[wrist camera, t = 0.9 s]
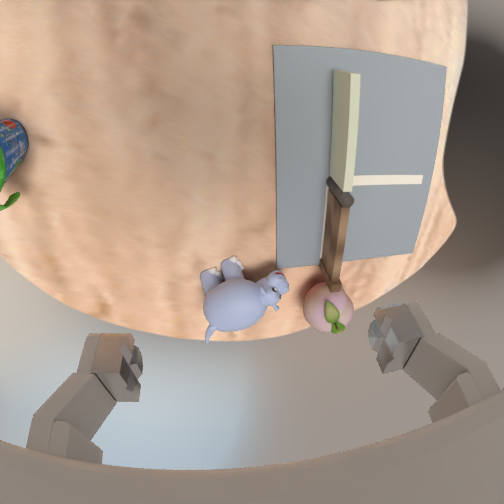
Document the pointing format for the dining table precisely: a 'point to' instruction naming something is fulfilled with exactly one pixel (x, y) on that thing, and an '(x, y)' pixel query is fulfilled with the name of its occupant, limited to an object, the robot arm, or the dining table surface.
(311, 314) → the decorative fruit
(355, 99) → the fence gate
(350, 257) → the board
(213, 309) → the hippopotamus toy
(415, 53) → the dining table surface
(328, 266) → the fence fixed
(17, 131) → the snack cup
